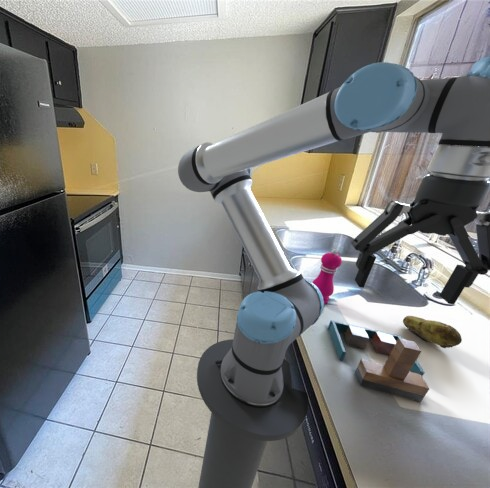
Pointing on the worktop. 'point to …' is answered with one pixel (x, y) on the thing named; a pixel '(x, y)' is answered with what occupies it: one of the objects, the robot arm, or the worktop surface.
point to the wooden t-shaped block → (395, 372)
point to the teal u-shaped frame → (343, 327)
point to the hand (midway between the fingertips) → (400, 291)
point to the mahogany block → (383, 343)
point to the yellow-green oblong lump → (433, 331)
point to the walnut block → (356, 337)
